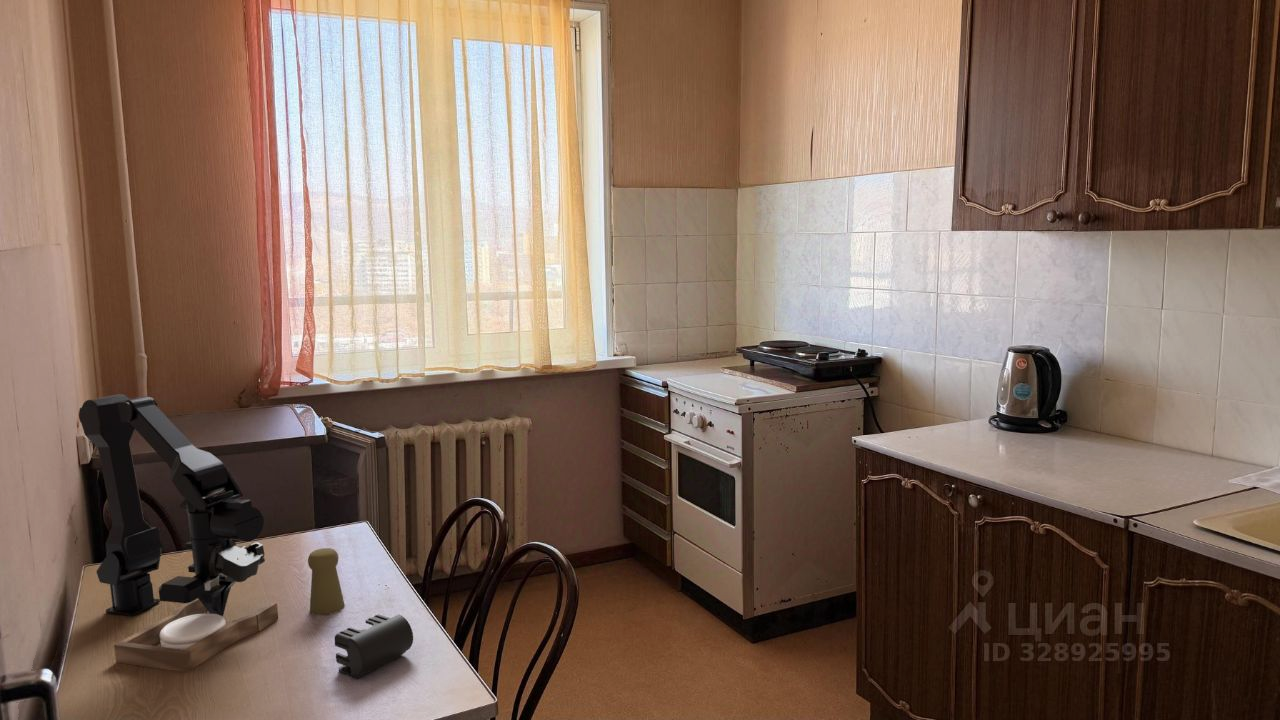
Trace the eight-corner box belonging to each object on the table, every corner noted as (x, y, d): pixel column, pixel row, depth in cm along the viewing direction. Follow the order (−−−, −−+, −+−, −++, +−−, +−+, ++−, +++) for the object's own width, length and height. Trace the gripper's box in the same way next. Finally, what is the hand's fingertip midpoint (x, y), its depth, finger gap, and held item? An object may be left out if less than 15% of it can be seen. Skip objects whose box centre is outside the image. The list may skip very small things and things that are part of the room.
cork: (333, 616, 158) (328, 557, 157) (302, 614, 160) (297, 555, 158) (351, 602, 164) (346, 545, 163) (321, 600, 165) (316, 543, 164)
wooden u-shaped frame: (202, 610, 163) (201, 594, 162) (278, 619, 158) (276, 602, 157) (109, 661, 144) (107, 644, 143) (192, 673, 139) (191, 655, 138)
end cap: (364, 685, 134) (361, 643, 133) (334, 673, 138) (331, 632, 137) (415, 658, 142) (412, 618, 141) (385, 647, 146) (382, 608, 145)
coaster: (173, 634, 153) (171, 615, 153) (234, 628, 155) (233, 609, 154) (151, 661, 143) (149, 641, 143) (217, 655, 145) (215, 635, 144)
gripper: (207, 557, 142) (218, 649, 144) (284, 519, 159) (292, 601, 162) (151, 552, 145) (162, 642, 147) (232, 515, 162) (241, 597, 165)
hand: (218, 620), depth 155 cm, fingers closed
